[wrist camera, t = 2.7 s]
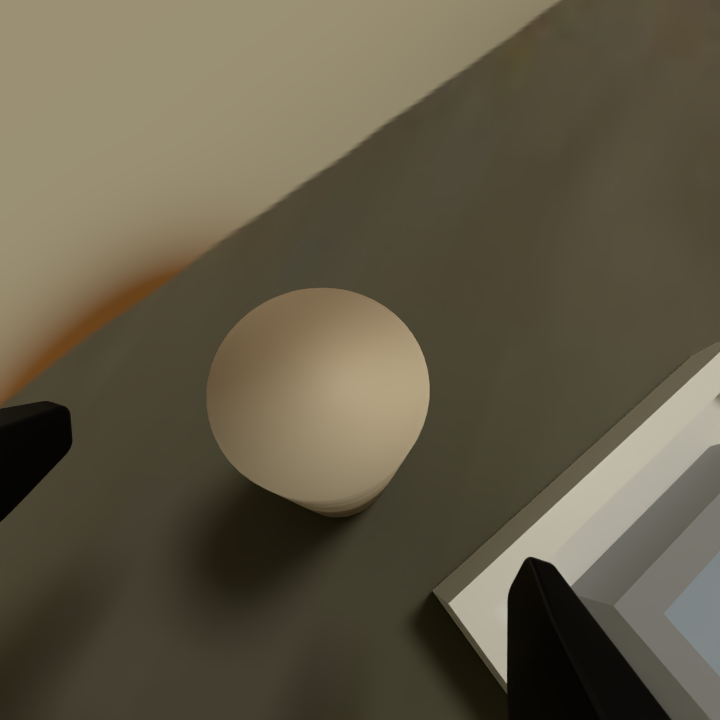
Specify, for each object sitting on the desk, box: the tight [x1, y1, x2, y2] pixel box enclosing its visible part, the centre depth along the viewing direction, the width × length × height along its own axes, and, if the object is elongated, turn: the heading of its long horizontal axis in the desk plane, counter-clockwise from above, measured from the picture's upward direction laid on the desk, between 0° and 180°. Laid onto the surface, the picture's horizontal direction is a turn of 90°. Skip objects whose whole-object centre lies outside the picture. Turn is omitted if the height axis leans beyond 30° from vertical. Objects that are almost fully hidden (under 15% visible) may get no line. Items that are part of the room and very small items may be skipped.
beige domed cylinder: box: [206, 288, 429, 517], centre depth 13 cm, size 4×4×10 cm
